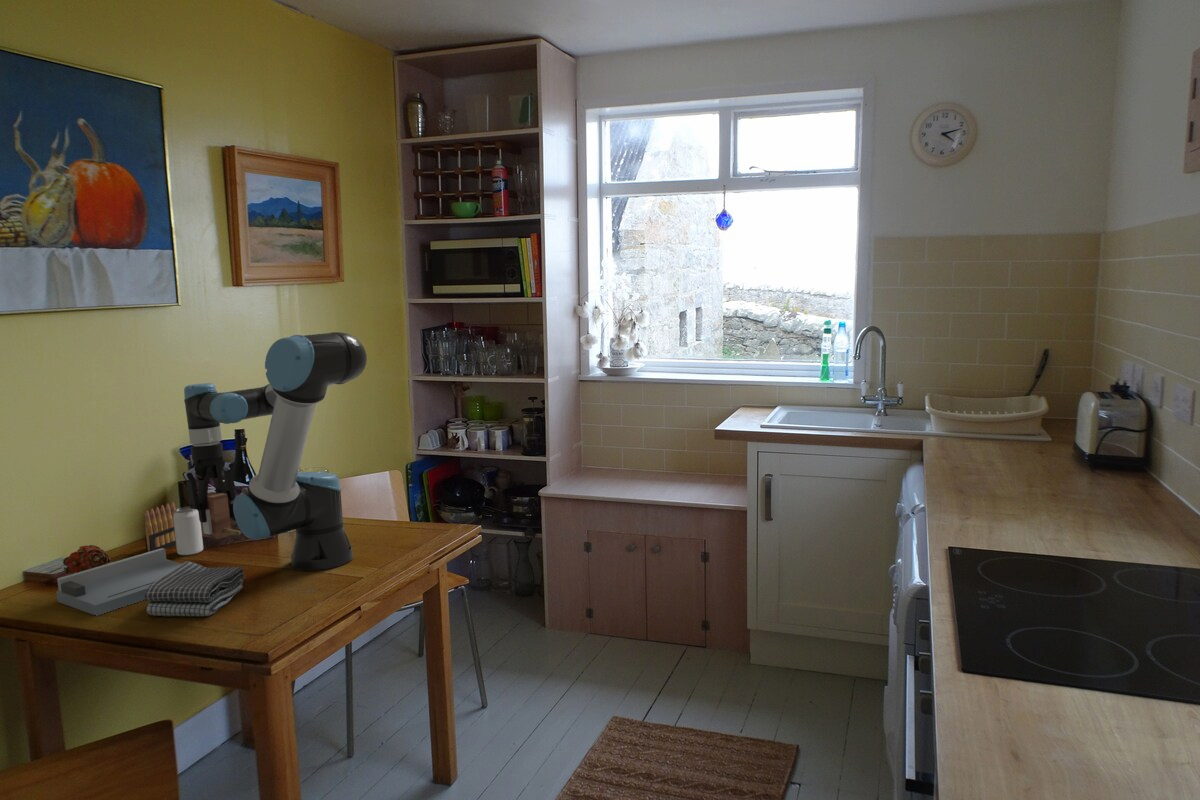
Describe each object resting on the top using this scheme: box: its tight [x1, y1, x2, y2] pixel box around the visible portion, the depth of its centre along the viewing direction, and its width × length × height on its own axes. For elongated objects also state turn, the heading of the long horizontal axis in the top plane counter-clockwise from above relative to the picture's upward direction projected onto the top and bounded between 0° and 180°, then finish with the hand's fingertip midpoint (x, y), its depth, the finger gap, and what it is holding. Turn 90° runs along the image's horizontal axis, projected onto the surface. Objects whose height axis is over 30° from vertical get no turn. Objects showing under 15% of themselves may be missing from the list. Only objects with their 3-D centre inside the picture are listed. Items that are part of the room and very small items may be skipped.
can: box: [173, 506, 204, 557], centre depth 235 cm, size 6×6×12 cm
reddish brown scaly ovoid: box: [62, 544, 112, 574], centre depth 219 cm, size 8×8×12 cm
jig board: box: [55, 548, 183, 617], centre depth 207 cm, size 18×26×6 cm
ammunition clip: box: [144, 501, 177, 553], centre depth 240 cm, size 11×2×12 cm, turn 160°
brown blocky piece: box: [200, 491, 242, 540], centre depth 225 cm, size 14×4×11 cm, turn 56°
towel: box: [144, 560, 246, 617], centre depth 196 cm, size 15×18×8 cm
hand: (216, 531), depth 227 cm, fingers closed on brown blocky piece, 4 cm apart
